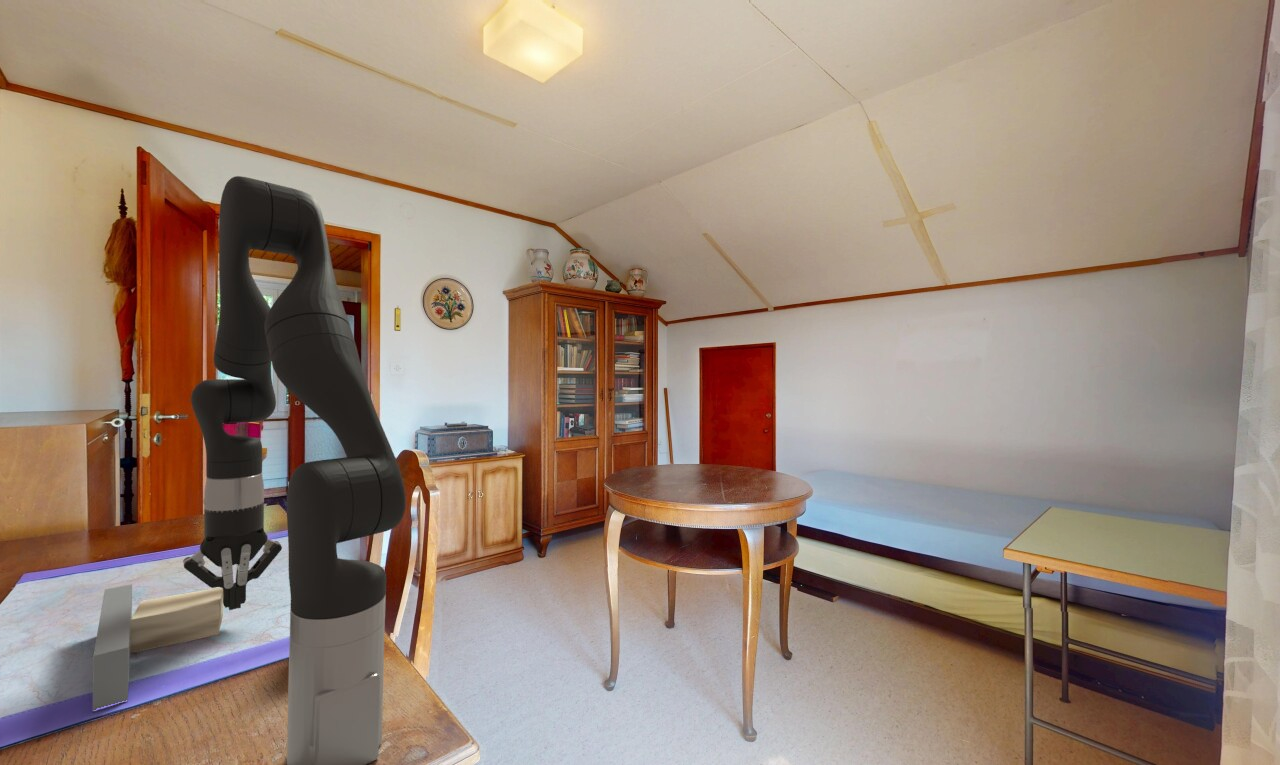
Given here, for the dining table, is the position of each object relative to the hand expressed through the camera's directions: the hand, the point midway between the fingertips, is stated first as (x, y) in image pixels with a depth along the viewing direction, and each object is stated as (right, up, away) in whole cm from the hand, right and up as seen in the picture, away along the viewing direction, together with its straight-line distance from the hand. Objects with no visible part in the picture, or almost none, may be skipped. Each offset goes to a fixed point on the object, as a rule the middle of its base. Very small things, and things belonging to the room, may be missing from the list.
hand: (234, 607), depth 82 cm
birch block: (-7, -3, -2) cm, 8 cm away
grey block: (-8, -3, -11) cm, 14 cm away
